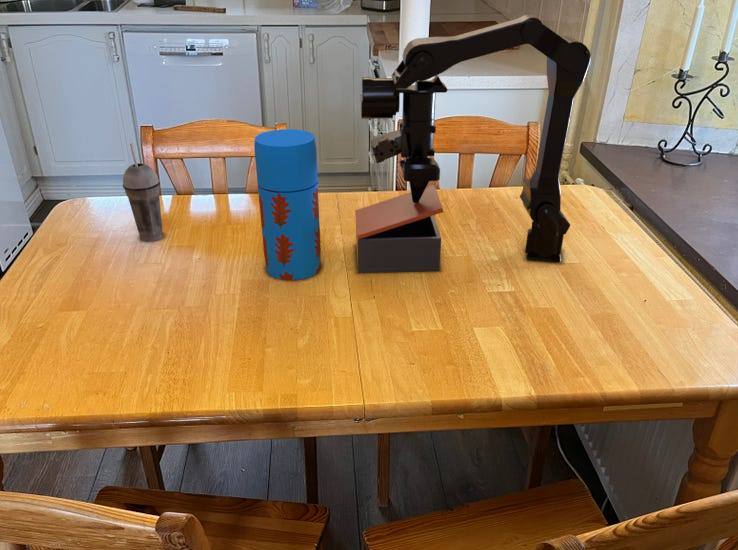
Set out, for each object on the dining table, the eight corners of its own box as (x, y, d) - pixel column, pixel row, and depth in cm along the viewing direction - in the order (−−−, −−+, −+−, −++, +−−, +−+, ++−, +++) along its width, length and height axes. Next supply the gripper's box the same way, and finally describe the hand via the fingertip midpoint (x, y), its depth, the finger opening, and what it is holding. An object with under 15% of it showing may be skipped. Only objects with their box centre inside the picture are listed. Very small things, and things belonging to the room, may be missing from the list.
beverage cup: (173, 230, 148) (158, 137, 137) (162, 244, 142) (144, 148, 131) (141, 229, 149) (122, 136, 138) (128, 243, 143) (107, 146, 132)
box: (431, 243, 142) (433, 212, 138) (439, 271, 132) (441, 238, 128) (356, 245, 142) (355, 214, 138) (358, 272, 131) (357, 240, 127)
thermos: (312, 283, 128) (305, 148, 114) (257, 277, 130) (244, 144, 116) (327, 258, 137) (322, 130, 123) (275, 253, 138) (265, 127, 124)
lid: (435, 188, 136) (434, 184, 135) (443, 212, 125) (442, 208, 125) (356, 213, 138) (355, 210, 137) (358, 239, 127) (357, 235, 127)
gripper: (370, 105, 129) (370, 185, 138) (375, 133, 114) (375, 222, 122) (429, 104, 130) (426, 184, 138) (442, 132, 114) (437, 221, 123)
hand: (415, 202), depth 130 cm, fingers closed
